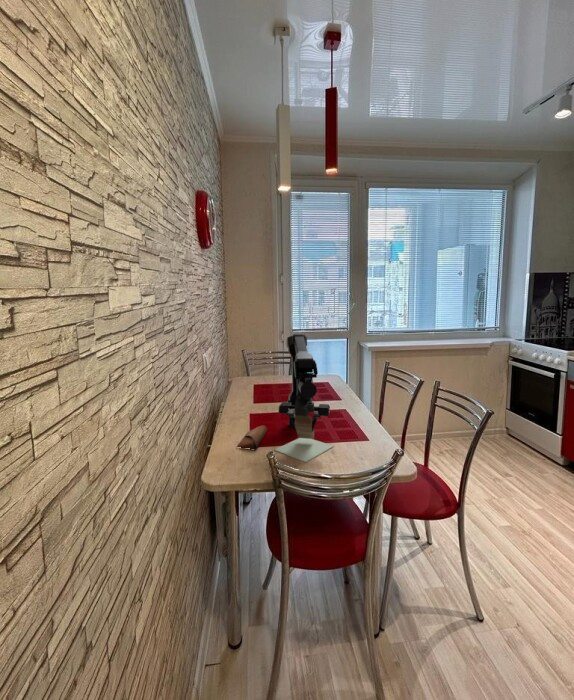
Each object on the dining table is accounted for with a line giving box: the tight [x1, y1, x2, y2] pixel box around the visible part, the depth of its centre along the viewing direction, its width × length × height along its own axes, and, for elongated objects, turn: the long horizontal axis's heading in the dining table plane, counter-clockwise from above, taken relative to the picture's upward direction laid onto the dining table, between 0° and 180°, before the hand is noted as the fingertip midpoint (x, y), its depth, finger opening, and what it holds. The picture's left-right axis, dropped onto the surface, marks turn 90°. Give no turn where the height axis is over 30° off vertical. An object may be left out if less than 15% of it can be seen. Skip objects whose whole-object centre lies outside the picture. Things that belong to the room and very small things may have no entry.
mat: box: [274, 437, 335, 463], centre depth 140 cm, size 17×15×1 cm
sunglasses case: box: [236, 424, 268, 450], centre depth 148 cm, size 18×7×7 cm
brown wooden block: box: [294, 415, 315, 440], centre depth 141 cm, size 4×6×13 cm
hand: (304, 430), depth 140 cm, fingers closed on brown wooden block, 6 cm apart
